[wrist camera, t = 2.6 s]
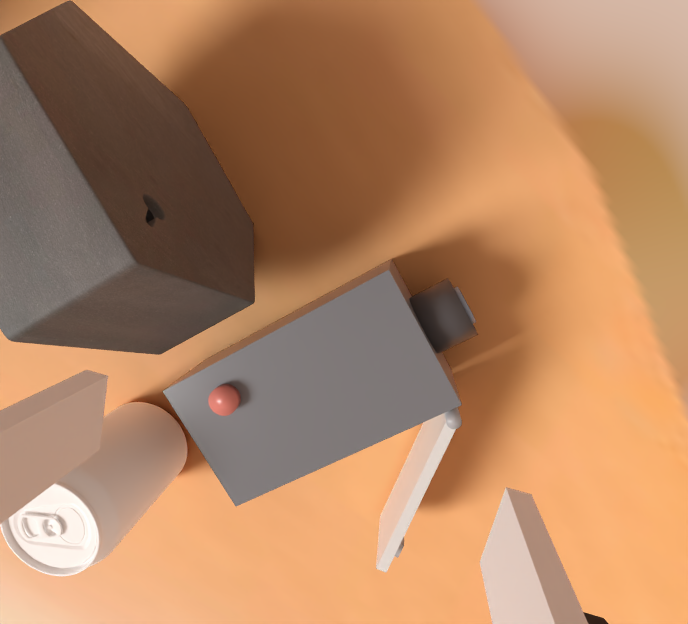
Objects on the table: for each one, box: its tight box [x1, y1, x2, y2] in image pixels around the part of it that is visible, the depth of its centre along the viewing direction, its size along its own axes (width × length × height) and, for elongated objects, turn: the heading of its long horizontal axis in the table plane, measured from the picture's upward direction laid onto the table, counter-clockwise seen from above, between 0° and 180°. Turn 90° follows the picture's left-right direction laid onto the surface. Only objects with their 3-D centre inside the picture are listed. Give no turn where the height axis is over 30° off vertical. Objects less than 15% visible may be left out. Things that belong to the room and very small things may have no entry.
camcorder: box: [163, 259, 478, 506], centre depth 34 cm, size 21×10×8 cm, turn 119°
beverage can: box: [0, 402, 187, 576], centre depth 36 cm, size 8×8×12 cm
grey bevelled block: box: [0, 1, 255, 355], centre depth 28 cm, size 17×8×21 cm
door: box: [376, 407, 462, 572], centre depth 35 cm, size 14×2×7 cm, turn 159°
